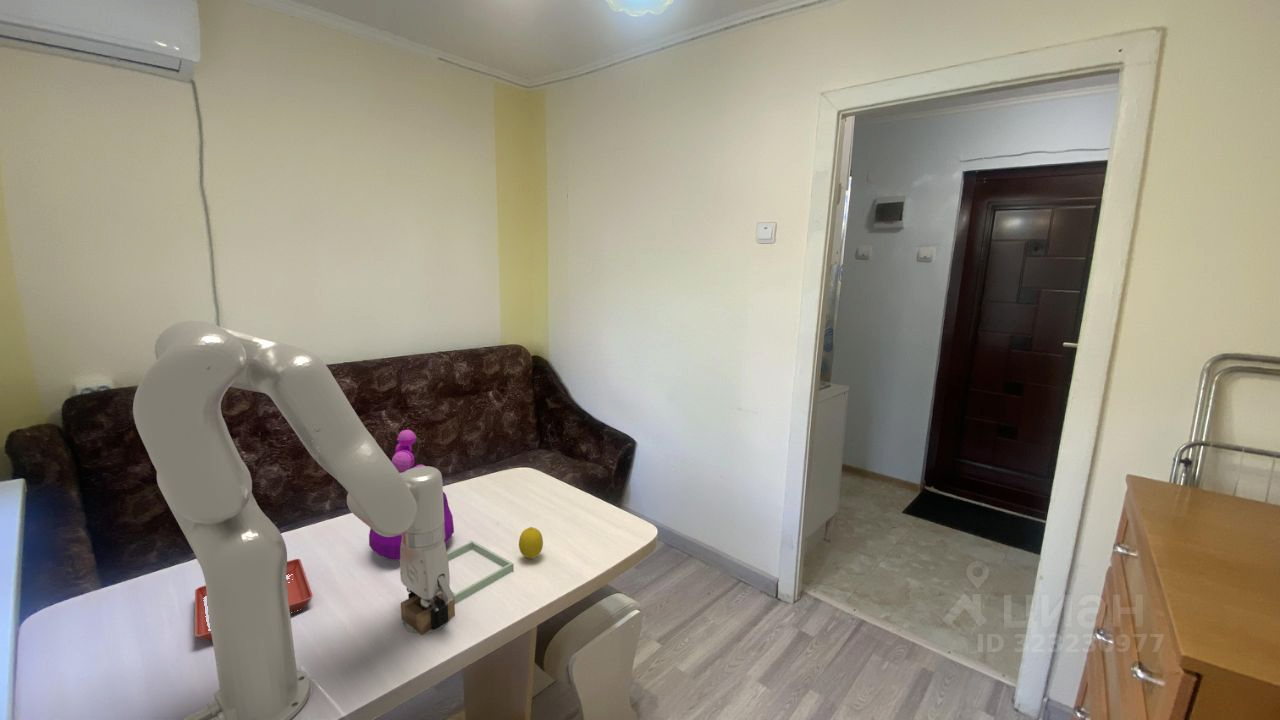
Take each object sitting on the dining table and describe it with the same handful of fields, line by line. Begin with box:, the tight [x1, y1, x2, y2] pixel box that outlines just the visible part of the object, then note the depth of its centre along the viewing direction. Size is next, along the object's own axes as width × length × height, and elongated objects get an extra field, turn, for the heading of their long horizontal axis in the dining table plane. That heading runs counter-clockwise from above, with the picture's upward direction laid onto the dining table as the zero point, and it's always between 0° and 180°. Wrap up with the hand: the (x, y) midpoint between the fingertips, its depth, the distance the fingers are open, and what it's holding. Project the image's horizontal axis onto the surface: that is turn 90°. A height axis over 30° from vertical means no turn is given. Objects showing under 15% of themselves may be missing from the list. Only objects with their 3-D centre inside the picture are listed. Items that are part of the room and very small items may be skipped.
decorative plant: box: [368, 429, 455, 561], centre depth 124 cm, size 19×18×30 cm
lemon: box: [518, 526, 544, 560], centre depth 123 cm, size 6×6×8 cm
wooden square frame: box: [400, 588, 456, 636], centre depth 102 cm, size 7×7×4 cm
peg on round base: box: [402, 598, 453, 635], centre depth 102 cm, size 9×9×5 cm
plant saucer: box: [194, 558, 314, 641], centre depth 105 cm, size 18×18×3 cm
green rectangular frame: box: [437, 540, 515, 605], centre depth 116 cm, size 15×15×2 cm
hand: (428, 616), depth 102 cm, fingers closed on wooden square frame, 7 cm apart
